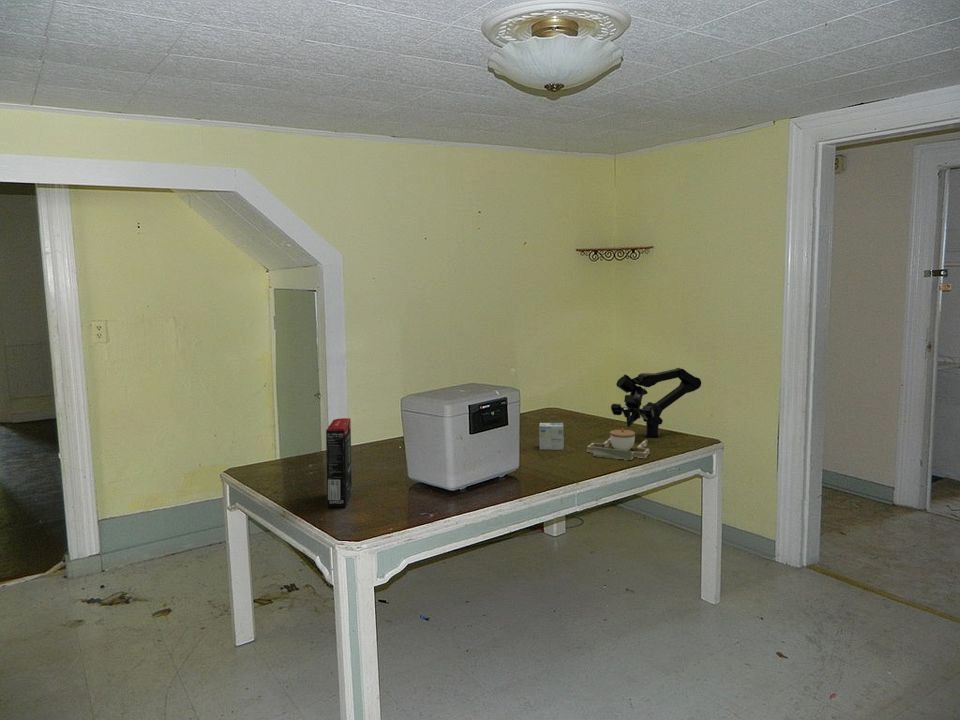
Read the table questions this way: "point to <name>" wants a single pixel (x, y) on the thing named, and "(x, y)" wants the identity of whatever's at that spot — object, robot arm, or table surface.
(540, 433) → the light bulb box
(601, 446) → the trap lane
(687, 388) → the robot arm
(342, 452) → the graphics card box
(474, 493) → the table surface
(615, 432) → the lidded jar
